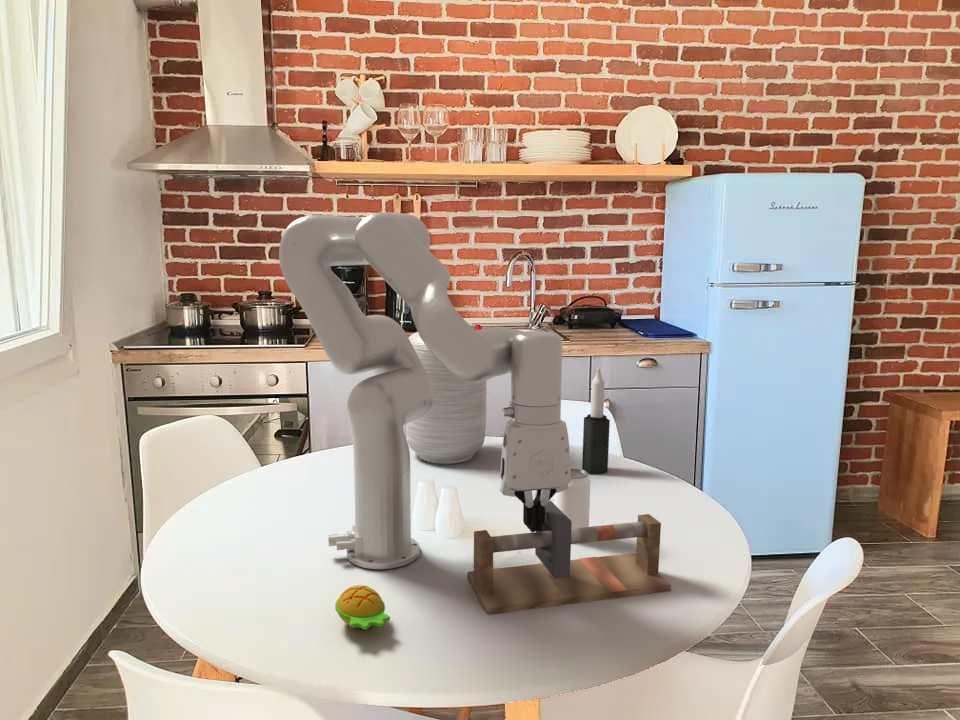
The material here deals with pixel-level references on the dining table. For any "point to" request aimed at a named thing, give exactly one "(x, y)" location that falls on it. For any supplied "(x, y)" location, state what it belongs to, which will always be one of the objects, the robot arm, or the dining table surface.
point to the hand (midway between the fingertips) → (533, 528)
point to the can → (576, 499)
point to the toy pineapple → (361, 607)
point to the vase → (448, 414)
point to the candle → (596, 432)
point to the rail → (586, 574)
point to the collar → (556, 542)
